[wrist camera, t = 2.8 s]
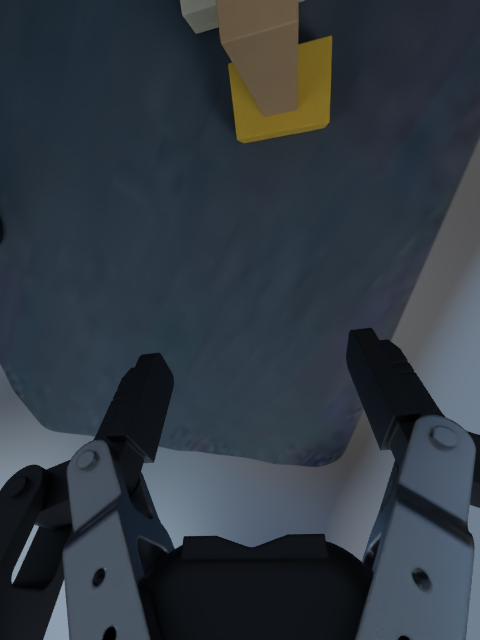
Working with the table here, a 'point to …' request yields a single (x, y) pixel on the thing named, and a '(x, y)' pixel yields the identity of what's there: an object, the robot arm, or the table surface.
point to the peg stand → (274, 69)
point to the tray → (201, 14)
